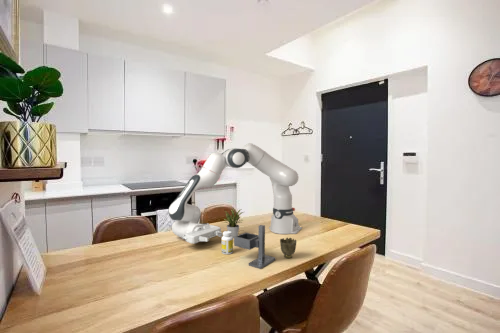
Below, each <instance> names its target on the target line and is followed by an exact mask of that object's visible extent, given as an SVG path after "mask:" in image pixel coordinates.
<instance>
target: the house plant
mask: <svg viewBox="0 0 500 333" xmlns="http://www.w3.org/2000/svg"><path fill="white" fill-rule="evenodd" d="M241 210H242V208H241V209H239V210H238V211H237V212H236V213H235V212H234V210H233V209H230V212H231V214H229V212H228V211H226V210H224V212H225V213H224V214H225V218H224V219H223V220H224V221H225V223H227V225H226V231H231V236H232V237H233V239H234V237H235V236H238V235H239V230H240V225H239V224H238V223H243V221H244V220H243V219H240V218H241V214H244V211H243V212H242V211H241Z"/></svg>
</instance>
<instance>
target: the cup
mask: <svg viewBox="0 0 500 333" xmlns="http://www.w3.org/2000/svg"><path fill="white" fill-rule="evenodd" d="M279 243H280V250H281V253H282V254H283V257H284V258H285V259H292V257H293V255H294V254H295V253H296V248H297V243H298V241H297V240H296V239H295V238H291V237H289V238H288V237H286V238H280V239H279Z"/></svg>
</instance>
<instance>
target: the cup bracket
mask: <svg viewBox="0 0 500 333" xmlns="http://www.w3.org/2000/svg"><path fill="white" fill-rule="evenodd" d="M265 243H266V225H264V224H260V225H258V234H255V233H254V234H253V233H250V232H244V233H243V232H242V233H241V234H238V236H235V237H234V238H233V247H238V248H240V249H241V248H242V249H244V250H245V249H246V250H248V251H250V250H252V249H254V248H255V249H256V248H257V252H258V254H257V258H255V259H254V260H251V261H249V262H248V266H249V267H253V268H256V269H259V270H262V269H263V268H265V267H266V266H268V265H269V264H271V263H273V262H274V261H276V259H277V258H276V257H274V256H271V255H267V254H265V253H266V251H265V250H266V244H265Z"/></svg>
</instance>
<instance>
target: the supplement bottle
mask: <svg viewBox="0 0 500 333" xmlns="http://www.w3.org/2000/svg"><path fill="white" fill-rule="evenodd" d="M222 233H223V236H221V254H223V255H231V254H233V253H234V238H233V237H232V236H231V231H227V230H224V231H223V232H222Z"/></svg>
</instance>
